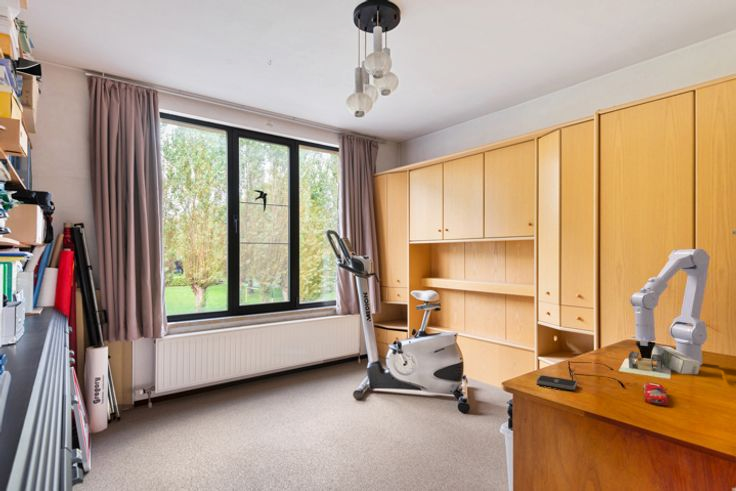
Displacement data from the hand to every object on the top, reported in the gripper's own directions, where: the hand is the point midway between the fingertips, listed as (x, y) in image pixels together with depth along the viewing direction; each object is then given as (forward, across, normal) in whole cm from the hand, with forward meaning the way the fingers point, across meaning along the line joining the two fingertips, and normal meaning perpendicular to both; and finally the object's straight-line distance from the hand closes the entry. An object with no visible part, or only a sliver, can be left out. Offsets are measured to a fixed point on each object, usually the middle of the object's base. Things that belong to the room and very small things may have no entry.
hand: (646, 362), depth 135 cm
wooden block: (+1, +6, 0) cm, 6 cm away
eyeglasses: (+3, +23, -13) cm, 27 cm away
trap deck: (+3, +4, 0) cm, 5 cm away
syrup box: (-1, +4, +12) cm, 13 cm away
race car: (+3, +33, +4) cm, 33 cm away
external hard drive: (+3, +39, -21) cm, 44 cm away
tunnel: (+1, +5, 0) cm, 5 cm away
